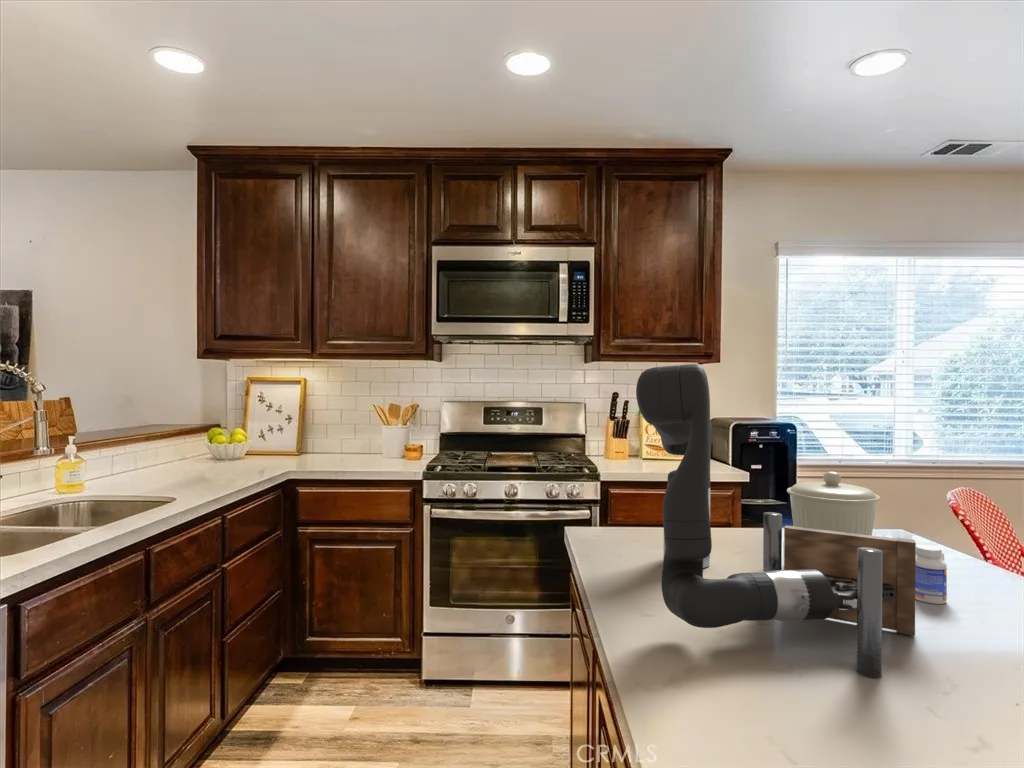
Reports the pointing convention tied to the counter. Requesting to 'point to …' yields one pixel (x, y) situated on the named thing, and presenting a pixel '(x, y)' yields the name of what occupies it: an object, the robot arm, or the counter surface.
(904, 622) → the gate leaf
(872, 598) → the gate posts
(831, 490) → the canister
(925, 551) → the pill bottle
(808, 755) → the counter surface
